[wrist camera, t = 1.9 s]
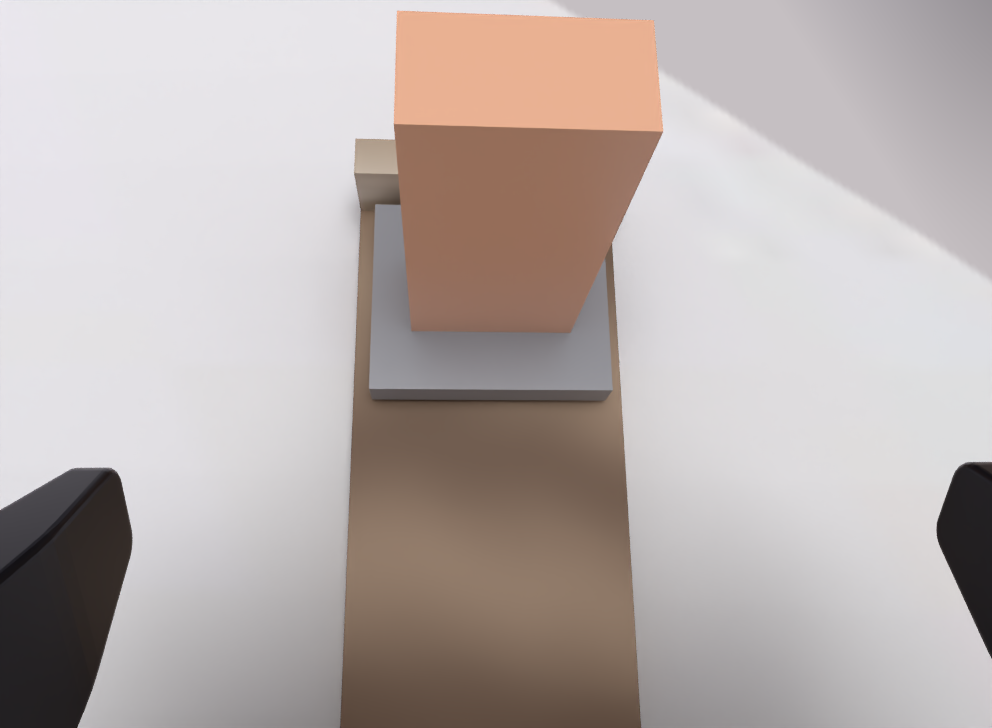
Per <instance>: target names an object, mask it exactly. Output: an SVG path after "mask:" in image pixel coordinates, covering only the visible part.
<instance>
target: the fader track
mask: <svg viewBox="0 0 992 728" xmlns="http://www.w3.org/2000/svg"><path fill="white" fill-rule="evenodd" d="M354 175H355V180H356V186H357V191H358V197H359V202H360V208H361V221H360V247H359V272H358V297H357V322H356V347H355V373H354V398H353V423H352V448H351V473H350V498H349V524H348V549H347V574H346V599H345V624H344V650H343V675H342V700H341V725H340V728H641V721H640V704H639V688H638V671H637V654H636V638H635V621H634V604H633V588H632V571H631V554H630V537H629V521H628V504H627V487H626V471H625V454H624V437H623V421H622V404H621V387H620V370H619V354H618V337H617V320H616V304H615V287H614V270H613V254H612V244H611V246H610V248H609V250H608V252H607V254H606V257H605V263H606V281H607V298H608V316H609V333H610V351H611V369H612V386H613V391H612V392H611V393H610V395H609V396H608V397H607V399H606V400H605V401H578V400H387V399H372V398H371V394H370V391H369V374H370V345H371V315H372V286H373V257H374V227H375V204H381V205H401V202H400V190H399V178H398V166H397V155H396V143H395V140H383V139H356V142H355V165H354Z"/></svg>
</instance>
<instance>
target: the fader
mask: <svg viewBox="0 0 992 728" xmlns="http://www.w3.org/2000/svg"><path fill="white" fill-rule="evenodd" d="M394 131H395V143H396V155H397V166H398V178H399V190H400V202H401V205H381V204H375V227H374V257H373V286H372V315H371V345H370V374H369V391H370V394H371V398H372V399H387V400H578V401H605V400H606V399H607V397H608V396H609V395H610V393H611V392H612V391H613V386H612V369H611V351H610V333H609V316H608V298H607V281H606V263H605V257H606V254H607V252H608V250H609V248H610V246H611V244H612V241H613V239H614V237H615V235H616V233H617V231H618V228H619V226H620V224H621V222H622V220H623V218H624V215H625V213H626V211H627V209H628V207H629V205H630V202H631V200H632V198H633V196H634V194H635V192H636V189H637V187H638V185H639V183H640V181H641V179H642V176H643V174H644V172H645V170H646V168H647V165H648V163H649V161H650V159H651V157H652V155H653V152H654V150H655V148H656V146H657V144H658V142H659V139H660V137H661V135H662V133H663V124H662V112H661V100H660V89H659V77H658V65H657V53H656V41H655V29H654V21H653V20H628V19H602V18H575V17H548V16H522V15H495V14H468V13H442V12H415V11H397V30H396V67H395V103H394Z"/></svg>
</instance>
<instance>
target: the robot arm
mask: <svg viewBox="0 0 992 728" xmlns="http://www.w3.org/2000/svg"><path fill="white" fill-rule="evenodd" d="M937 538H938V542H939V545H940V548H941V550H942V552H943V554H944V556H945V559H946V561H947V563H948V565H949V567H950V569H951V572H952V574H953V576H954V578H955V580H956V583H957V585H958V587H959V589H960V591H961V594H962V596H963V598H964V600H965V602H966V604H967V607H968V609H969V611H970V613H971V615H972V618H973V620H974V622H975V624H976V626H977V628H978V631H979V633H980V635H981V637H982V639H983V642H984V644H985V646H986V648H987V650H988V652H989V654H990V656H991V658H992V462H967V463H964V464H962V465H961V466H959V467H958V469H957V470H956V471H955V473H954V475H953V478H952V481H951V484H950V487H949V489H948V492H947V495H946V498H945V501H944V503H943V506H942V509H941V512H940V515H939V518H938V521H937ZM131 550H132V530H131V525H130V520H129V515H128V511H127V506H126V501H125V496H124V492H123V487H122V482H121V479H120V477H119V475H118V473H117V472H116V471H115V470H113V469H112V468H74V469H71V470H69V471H67V472H65V473H64V474H62V475H60V476H58V477H57V478H55V479H53V480H51V481H50V482H48V483H46V484H45V485H43V486H41V487H39V488H38V489H36V490H34V491H32V492H31V493H29V494H27V495H26V496H24V497H22V498H20V499H19V500H17V501H15V502H13V503H12V504H10V505H8V506H7V507H5V508H3V509H1V510H0V728H77V727H78V724H79V722H80V720H81V717H82V715H83V712H84V710H85V707H86V704H87V702H88V699H89V697H90V694H91V691H92V689H93V686H94V683H95V679H96V676H97V673H98V670H99V666H100V663H101V659H102V656H103V652H104V649H105V645H106V641H107V638H108V634H109V631H110V627H111V624H112V620H113V616H114V613H115V609H116V606H117V602H118V599H119V595H120V591H121V588H122V584H123V581H124V577H125V574H126V570H127V567H128V563H129V559H130V556H131Z"/></svg>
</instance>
